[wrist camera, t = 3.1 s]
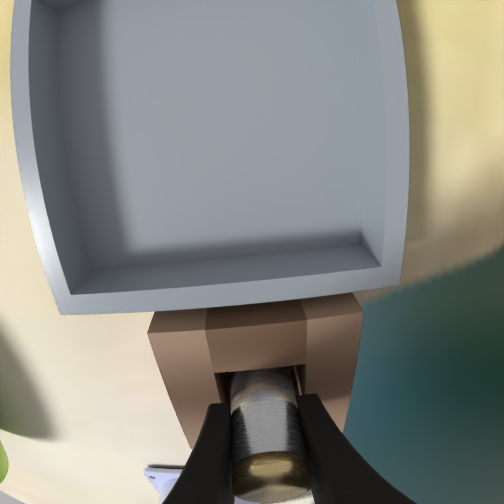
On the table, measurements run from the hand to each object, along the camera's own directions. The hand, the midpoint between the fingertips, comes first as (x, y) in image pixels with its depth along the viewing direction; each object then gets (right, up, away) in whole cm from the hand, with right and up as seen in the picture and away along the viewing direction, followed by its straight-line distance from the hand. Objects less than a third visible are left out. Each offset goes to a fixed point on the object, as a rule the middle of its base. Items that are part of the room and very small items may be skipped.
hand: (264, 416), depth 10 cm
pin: (0, +1, +4) cm, 4 cm away
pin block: (0, +1, +4) cm, 4 cm away
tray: (-2, +11, 0) cm, 11 cm away
